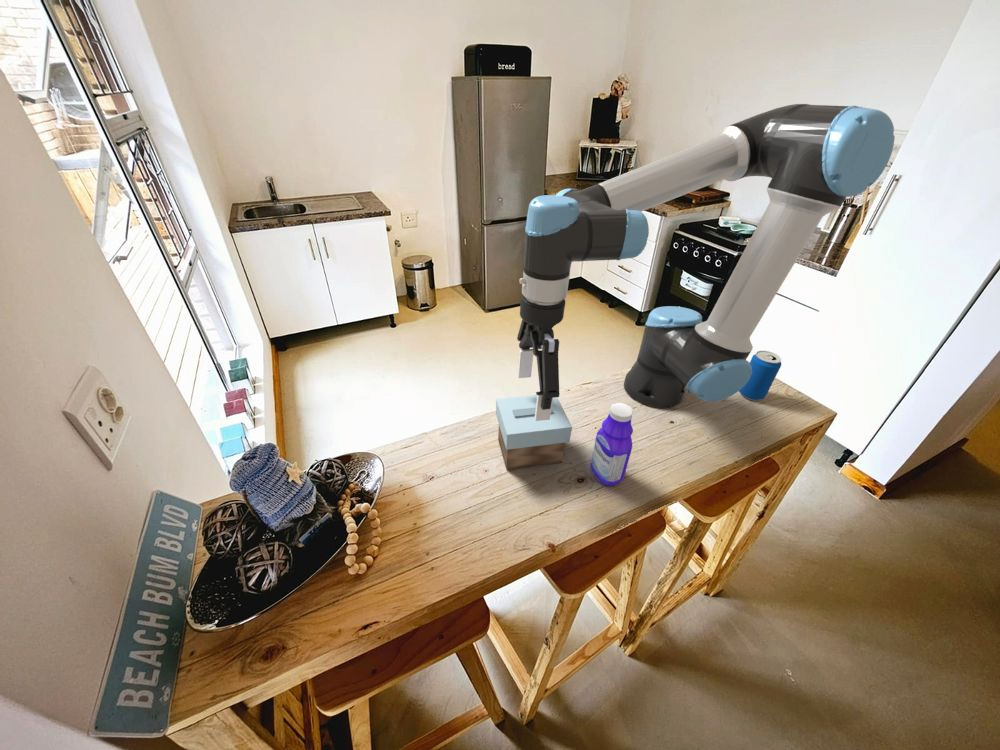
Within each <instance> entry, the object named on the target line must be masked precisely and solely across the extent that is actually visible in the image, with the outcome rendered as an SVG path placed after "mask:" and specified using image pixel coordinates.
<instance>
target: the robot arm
mask: <svg viewBox="0 0 1000 750" xmlns="http://www.w3.org/2000/svg"><path fill="white" fill-rule="evenodd" d="M894 126H895V125H894V123H893V121H892V119H891V117H890V116H889V115H888V114H887V113H885V112H884V111H882V110H879V109H874V108H869V107H863V106H857V105H847V106H846V105H827V104H826V105H825V104H823V105H822V104H808V103H795V104H788V105H783V106H780V107H776V108H773V109H770V110H767V111H765V112H761V113H759V114H756V115H753V116H751V117H748V118H746V119H743V120H741V121H737V122H736V123H733V124H730V125H728V126H725V127H723V128H722V129H721V130H720V131H719V132H718V133H717V134H716V136H715V137H713V138H710V139H708V140H705V141H703V142H701V143H698V144H695V145H693V146H691V147H688V148H686V149H683V150H679V151H678V152H675V153H673V154H669V155H668V156H665V157H663V158H661V159H658V160H655V161H653V162H651V163H647V164H645V165H643V166H640V167H638V168H635V169H632V170H630V171H627V172H625V173H622V174H620V175H617V176H615V177H612V178H610V179H607V180H605V181H603V182H599V183H596V184H594V185H592V186H588V187H587V188H584V189H581V190H580V189H577V188H565V189H562V190H560V191H558V192H557V193H556V194H555V195H554V194H546V195H539V196H536V197H535V198H533V199H531V201H530V202H529V204H528V209H527V215H526V224H525V227H524V228H525V229H524V232H525V234H524V235H525V238H524V254H523V255H524V257H523V270H522V271H523V272H522V277H521V278H519V280H518V281H519V284H520V285H521V294H522V295H521V297H520V305H519V317H520V318H521V323H520V327H519V330H518V334H517V336H516V338H517V339H516V340H517V341H518V342H519V343H518V345H519V356H518V357H519V358H518V369H517V378H518V379H525V378H526V379H527V378H532V371H533V361H534V356H535V358H536V364H537V365H536V366H537V374H538V385H539V389H538V390H537V391H536V392H535V393H536V394H535V395H537V402H536V410H535V421H541V420H550V415H551V408H552V401H553V398H555V397H558V398H560V394H561V393H560V375H559V374H560V371H559V367H560V366H559V350H560V349H559V348H560V340H559V339H558V338H556V339H555V331H554V329H553V328H554V327H555V326H556V325H559V324H561V322H562V321H563V320H564V316H565V315H564V314H565V307H566V298H567V296H568V289H569V284H570V283H569V282H570V275H571V274H570V273H571V267H572V263H573V262H594V261H595V262H596V261H613V260H614V261H615V260H616V261H621V260H625V259H626V260H627V259H632V258H633V259H634V258H636V257H638V256H639V255H640V254H642V253H643V251H644V250H645V248H646V247H647V243H648V238H649V233H650V229H649V222H648V218H647V217H646V215H645V214H644V213H643V212H644V211H647V210H649V209H651V208H654V207H657V206H659V205H661V204H665V203H666V202H670V201H672V200H674V199H676V198H677V199H678V198H679V197H682V196H685V195H687V194H690V193H692V192H695V191H697V190H700V189H703V188H705V187H708V186H710V185H713V184H716V183H717V182H721V181H723V180H725V181H727V182H736V181H738V180H740V179H743V178H747V177H765V178H770V179H771V180H770V181H769V183H768V185H767V188H766V193H767V194H768V197H769V203H768V205H767V207H766V209H765V211H764V212H763V214H762V216H761V219H760V220H759V221H758V224H757V226H756V228H754V229H755V230H754V231H753V233H752V236H751V237H750V239H749V240H748V243H746V244H747V245H746V247H745V248H744V250H743V252H742V254H741V256H740V258H739V259H738V262H737V263H736V266H735V267H734V269H733V270H732V273H731V275H730V277H729V279H728V281H727V282H726V284H725V286H724V288H723V290H722V292H721V293H720V296H719V297H718V299H717V301H716V303H715V304H714V307H713V308H712V311H711V312H710V315H709V316H708V318H707V320H705V321H703V316H702V315H701V313H700V312H699V311H696V310H694V309H691V308H687V307H683V306H677V305H676V306H675V305H674V306H672V305H671V306H670V305H668V306H659V307H656V308H653V309H652V310H651V311H650V312H649V314H648V317H647V320H646V321H645V326H644V330H643V334H642V339H641V342H640V348H639V351H638V354H637V358H636V360H635V362H634V363H633V365H632V367H630V370H629V371H628V372H627V374H626V375H625V378H624V382H623V388H624V390H625V393H626V394H627V395H628V396H629V397H630V398H631V399H633V400H634V401H636V402H638V403H640V404H642V405H644V406H648V407H651V408H656V409H657V408H658V409H668V408H673V407H676V406H678V405H680V404H681V403H682V401H683V399H684V395H685V394H686V390H687V391H688V392H689V393H692V394H693V395H694V396H695V397H696V398H698V399H699V400H701V401H703V402H719V401H723V400H725V399H728V398H729V397H731V396H733V395H735V394H737V392H739V390H740V389H741V388H742V387H743V386H744V385H745V384H746V383H747V382H748V381H749V379H750V377H751V374H752V367H751V365H750V364H749V363H750V362H749V361H748V360H747V358H748V357H749V355H750V354H751V352H752V351H753V347H754V346H753V344H752V342H751V336H752V335H753V333H754V332H755V330H756V328H757V326H758V325H759V323H760V321H761V320H762V319H763V316H764V314H765V313H766V311H767V310H768V308H769V307H770V305H771V303H772V302H773V300H774V298H775V297H776V295H777V294H778V292H779V290H780V288H781V286H782V285H783V283H784V282H785V280H786V278H787V277H788V276H789V273H790V272H791V270H793V266H794V265H795V263H796V262H797V260H798V259H799V257H800V255H801V254H802V252H803V250H804V248H805V247H806V245H808V244H807V243H808V242H809V240H810V239H811V237H812V236H813V234H814V232H815V230H816V229H817V227H818V226H819V224H820V222H821V221H822V219H823V217H825V216H826V215H828V214H830V213H833V212H835V211H837V210H840V209H841V207H842V205H843V203H844V202H845V201H846V199H847V198H850V197H854V196H858V195H860V194H862V193H864V192H866V191H867V190H868V187H871V186H872V185H874V184H875V183H876V182H877V180H879V178H880V177H881V175H882V174H883V173H884V171H885V169H886V168H887V166H888V163H889V161H890V159H891V157H892V153H893V150H894V146H895V138H896V137H895V135H894V132H895V127H894Z"/></svg>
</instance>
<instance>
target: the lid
mask: <svg viewBox="0 0 1000 750" xmlns="http://www.w3.org/2000/svg"><path fill="white" fill-rule="evenodd" d="M536 402H537V395H536V394H532V395H531V394H530V395H524V396H522V395H521V396H513V397H512V396H511V397H502V398H496V400H495V415H496V418H497V422H498V427H499V426H500V430H501V433H502V436H503V440H504V443H505V447H506V450H508V449H516V448H525V447H533V446H541V445H549V444H557V443H565V444H566V443H570V442H571V436H572V431H573V425H572V424H571V422H570V420H569V418H568V416H567V413H566V411H565V410H564V408H563V406H562V404H561V402H560V400H559V397H555V398H553V401H552V408H551V415H550V420H541V421H535V410H536Z"/></svg>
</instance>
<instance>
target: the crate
mask: <svg viewBox="0 0 1000 750" xmlns="http://www.w3.org/2000/svg"><path fill="white" fill-rule="evenodd" d="M497 436H498V437H497V438H498V439H497V440H498V443H499V444H498V445H499V448H500V451H501V452H500V453H501V454H502V455H501V456H502V459H503V462H504V466H505V469H506V471H509V470H518V469H524V468H532V467H533V468H534V467H538V466H539V467H540V466H546V465H547V466H548V465H554V464H562V463H563V457H564V451H565V446H566V445H565V444H566V442H565V443H557V444H549V445H541V446H533V447H525V448H516V449H508V450H506V447H505V443H504V440H503V436H502V433H501V430H500V426H499V425H498V435H497Z"/></svg>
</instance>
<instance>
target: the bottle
mask: <svg viewBox="0 0 1000 750" xmlns="http://www.w3.org/2000/svg"><path fill="white" fill-rule="evenodd" d="M633 414H634V410H633V408H632V407H631V406H629V405H628V404H625V403H623V402H622V403H621V402H616V403H613V404H611V406H610V409H609V412H608V415H607V417H606V418H605V419H604V420H603V421H602V423H601V427H600V428H599V429H598V431H597V432H596V434H595V435H596V436H595V440H594V444H593V445H594V446H593V450H592V456H591V461H590V471H591V472H592V474H593V476H594V477H595V479H596V480H597V481H599V482H600V483H601V484H602V485H604V486H606V487H613V486H615V485H618V484H620V483H621V482H622V481H623V480H624V478H625V475H626V471H627V468H628V464H629V460H630V456H631V455H632V454H631V453H632V449H633V440H632V435H633V432H634V428H633V426H632V418H633Z"/></svg>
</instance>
